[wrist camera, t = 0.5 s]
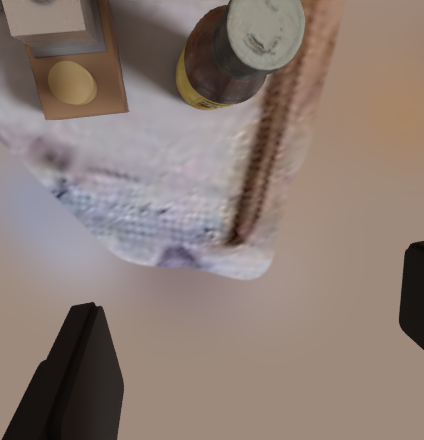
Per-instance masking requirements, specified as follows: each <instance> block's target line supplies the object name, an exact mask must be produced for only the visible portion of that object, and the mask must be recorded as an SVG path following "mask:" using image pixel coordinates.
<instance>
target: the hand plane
mask: <svg viewBox="0 0 424 440" xmlns="http://www.w3.org/2000/svg"><path fill="white" fill-rule="evenodd" d="M90 1H91V6H92V11H93V16H94V21H95V26H96V32H97V37H98V42H99V45H94V46H82V47H71V48H59V49H48V50H37V49H35V48H33V47H31V46H29V45H27V44H26V47H27V51H28V55H29V59H30V63H31V66H32V70H33V74H34V78H35V81H36V85H37V89H38V93H39V97H40V100H41V104H42V108H43V112H44V115H45V119H46V120H61V119H70V118H79V117H89V116H98V115H107V114H116V113H125V112H129V109H128V104H127V98H126V93H125V87H124V82H123V76H122V70H121V65H120V59H119V54H118V48H117V43H116V37H115V32H114V26H113V21H112V15H111V10H110V4H109V0H90Z"/></svg>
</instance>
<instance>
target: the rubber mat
mask: <svg viewBox="0 0 424 440" xmlns="http://www.w3.org/2000/svg"><path fill="white" fill-rule="evenodd" d="M0 10H4V7H3V3H2V0H0Z"/></svg>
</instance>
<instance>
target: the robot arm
mask: <svg viewBox="0 0 424 440" xmlns="http://www.w3.org/2000/svg"><path fill="white" fill-rule="evenodd" d="M399 324H400V327H401V328H402V330H403V331H404V332H405V333H406V334H407V335H408V336H409V337H410V338H411V339H412V340H413V341H414V342H416V343H417V344H418V345H419V346H420V347H421V348H422V349H423V350H424V241H421V242H415V243H412V244H410V246H409V248H408V249H407V250H406V251H405V256H404V268H403V279H402V290H401V302H400V313H399ZM123 393H124V383H123V378H122V374H121V370H120V367H119V363H118V359H117V356H116V352H115V349H114V345H113V342H112V338H111V335H110V331H109V328H108V324H107V320H106V317H105V313H104V310H103V307H102V306H97V307H96V305H95V303H94V302H91V303H85V304H80V305H75V306H72V307H71V308H70V311H69V313H68V315H67V317H66V319H65V321H64V323H63V325H62V327H61V329H60V332H59V334H58V336H57V338H56V340H55V342H54V344H53V347H52V348H51V351H50V353H49V355H48V357H47V359H46V360H44V361H42V362H41V363H40V365H39V366H38V367H37V369H36V371H35V374H34V375H33V377H32V380H31V381H30V383H29V386H28V388H27V390H26V392H25V394H24V396H23V398H22V400H21V402H20V404H19V406H18V408H17V410H16V412H15V414H14V416H13V418H12V420H11V422H10V424H9V426H8V428H7V430H6V432H5V434H4V436H3V438H2V440H117V435H118V428H119V421H120V414H121V407H122V400H123Z"/></svg>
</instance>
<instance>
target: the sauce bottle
mask: <svg viewBox="0 0 424 440" xmlns="http://www.w3.org/2000/svg"><path fill="white" fill-rule="evenodd" d="M304 29H305V17H304V10H303V7H302V5H301V2H300V0H230V1H229V3H228V5H224V6H220V7H217V8H214V9H212V10H210V11H209V12H208V13H207V14H205V15H204V17H203V18H201V19H200V21H199V22H198V23H197V24H196V26H195V28H194V30H193V31H192V32H191V34H190V36H189V38H188V40H187V42H186V44H185V47H184V49H183V52H182V54H181V56H180V58H179V61H178V63H177V67H176V84H177V87H178V90H179V93H180V95H181V96H182V98H183V99H184V100H185V101H186V102H187V103H188V104H190V105H191V106H193V107H194V108H197V109H201V110H213V109H217V108H222V107H227V106H230V105H234V104H238V103H241V102H244V101H246V100H248V99H250V98H251V97H253V96H254V95H255V94H256V93H257V92H258V91H259V90H260V88H261V87H262V85H263V83H264V81H265V78H266V75H267V74H270V73H272V72H274V71H277V70H278V69H280V68H282V67H283V66H285V65H286V64H287V63H288V62H289V61H290V60H291V59H292V58H293V57H294V56H295V54H296V53H297V51H298V49H299V48H300V46H301V43H302V40H303V35H304Z"/></svg>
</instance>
